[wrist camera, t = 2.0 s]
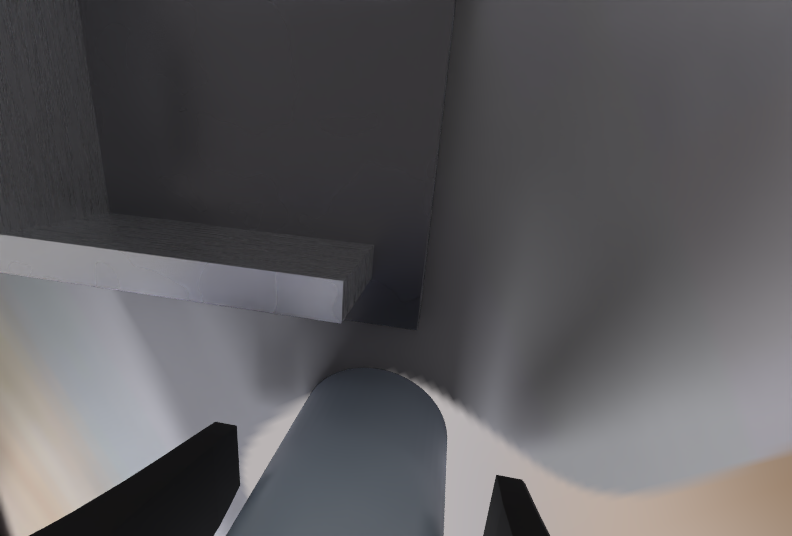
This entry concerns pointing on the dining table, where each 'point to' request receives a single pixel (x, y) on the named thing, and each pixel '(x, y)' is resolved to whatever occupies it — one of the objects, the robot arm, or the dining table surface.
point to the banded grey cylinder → (355, 464)
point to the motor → (225, 150)
